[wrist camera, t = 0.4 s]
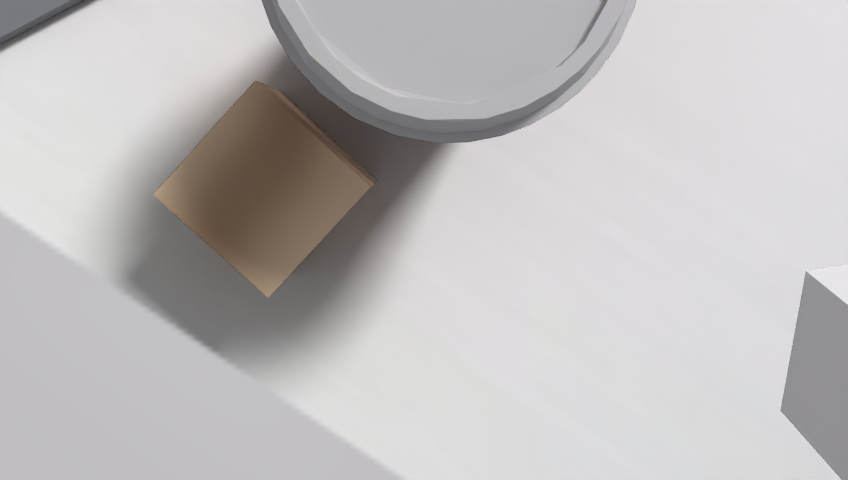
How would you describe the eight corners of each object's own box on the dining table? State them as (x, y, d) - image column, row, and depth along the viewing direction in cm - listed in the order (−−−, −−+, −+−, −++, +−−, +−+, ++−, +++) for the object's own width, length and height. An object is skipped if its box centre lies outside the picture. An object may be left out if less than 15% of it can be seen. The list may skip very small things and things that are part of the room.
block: (376, 180, 30) (370, 187, 25) (291, 273, 30) (268, 298, 25) (281, 91, 30) (255, 80, 25) (195, 187, 30) (152, 195, 25)
